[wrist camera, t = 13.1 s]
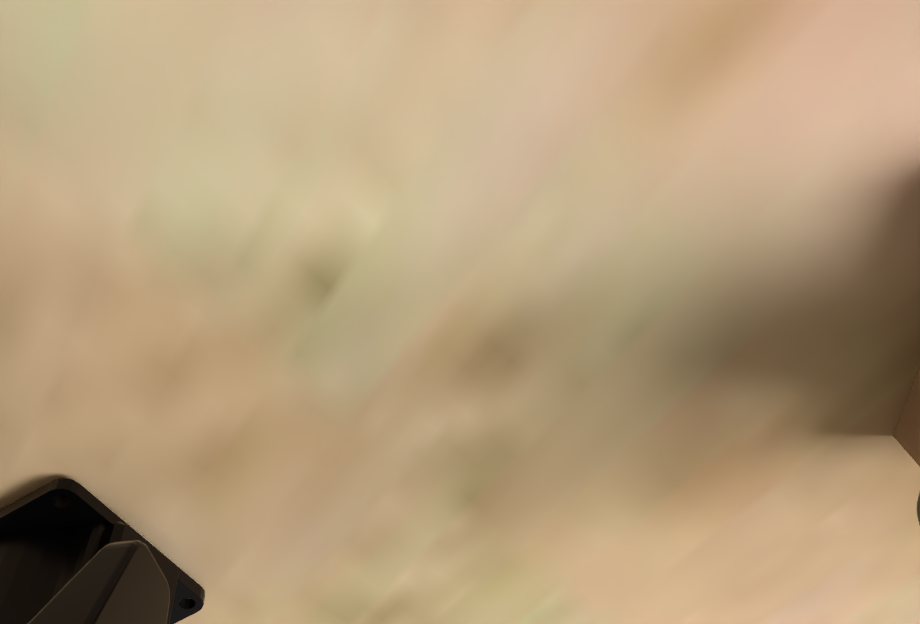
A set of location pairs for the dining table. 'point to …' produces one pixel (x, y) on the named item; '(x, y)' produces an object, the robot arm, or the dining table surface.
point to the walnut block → (910, 423)
